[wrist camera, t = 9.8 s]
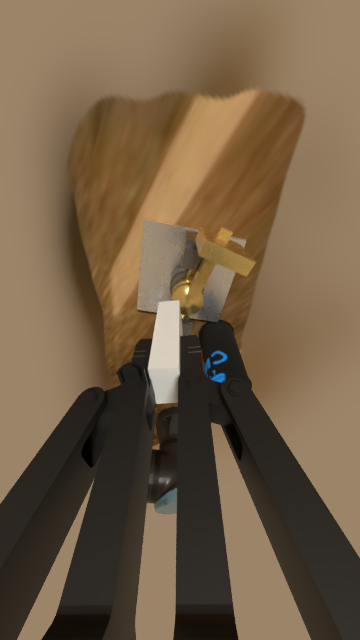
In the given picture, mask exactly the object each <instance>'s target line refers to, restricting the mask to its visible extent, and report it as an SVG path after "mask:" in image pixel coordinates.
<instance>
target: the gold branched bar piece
mask: <svg viewBox="0 0 360 640" xmlns="http://www.w3.org/2000/svg"><path fill="white" fill-rule="evenodd" d="M232 234H233V232H232V231H231V230H230V229H228V228H226V227H224V226H222V225H220V226H219V228H218V230H217V232H216V233H215V232H212V231H210V230H208V229H206V228H204V227H202V226H201V228H200V230H199V232H198V234H197V236H196V239H195V241H196V245H197V250H198V254H199V256H200V257H203V260H202V262H201V264H200V266H199V268H198V270H197V271H196V270H190V269H189V271H188V273H187V275H186V277H183V278H180V279H178V280H177V281H176V282H175V283H174V285H173V288H172V299H171V301H176V300H179V302H180V312H181V321H182V320H183V318H184V316H185V315H192V314H195V313H197V312H198V311H200V310H201V308H202V307H203V304H204V297H203V292H202V289H203V288H204V286H205V284H206V282H207V280H208V278H209V276H210V275H211V273H212V271H213V269H214V267H215V265H216V264H219V265H221V266H223V267H226V268H228V269H230V270H232V271H235V272H237V273H239V274H242V275H244V276H246V277H247V275H248V274H249V272H250V271H251V269H252V267H253V266H254V264H255V263H256V262H255V261H254V260H253V259H252V257H251V256H250V255H249V254H248V253H247V252H246V250H245V249H244V248H243V247H242V246H241V245H240V244H238V243H236V242H234V241H232V240H229V239H230V237H231V235H232Z"/></svg>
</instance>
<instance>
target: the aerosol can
mask: <svg viewBox="0 0 360 640" xmlns="http://www.w3.org/2000/svg"><path fill="white" fill-rule="evenodd" d="M199 338H200V340H201V346H202V354H203V363H204V371H205V375H206V376H207V377H208V378H210V379H211V380H214V381H217V382H221V383H223V382H224V381H225V380H227V379H229V378H237V379H241V380H243V381H245V382H246V383H247V384H248V385H249V387H250V388H252V383H251V381H250V379H249V378H248V375H247V372H246V370H245V366H244V363H243V360H242V357H241V354H240V351H239V348H238V345H237V342H236V339H235V336H234V330H233V327H232V326H231V325H230V324H229V323H228V322H226V321H223V320H218V322H212V321H210V322H208V323H206V324H205V325H203V326H202V328H201V329H200V332H199Z"/></svg>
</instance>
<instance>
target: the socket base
mask: <svg viewBox="0 0 360 640" xmlns="http://www.w3.org/2000/svg"><path fill="white" fill-rule="evenodd" d="M199 230H200V229H195V228H191V227H186V226H181V225H176V224H171V223H166V222H161V221H156V220H151V219H146V218H145V220H144V232H143V243H142V255H141V266H140V278H139V289H138V301H137V310H142V311H149V312H155V313H157V311H158V305H159V302H164V301H171V299H172V288H173V285H174V283H175V282H176V281H177V280H178V279H180V278H183V277H186V275H187V273H188V271H189V269H190V270H196V271H197V270H198V268H199V266H200V264H201V262H202V260H203V257H200V256H199V254H198V250H197V245H196V241H195V239H196V236H197V234H198V232H199ZM229 240H232V241H234V242H236V243H238V244H240V245H241V246H242V247H243V248H244V247H245V244H246V241H247V240H246V239H245V238H240V237H235V236H231V237H230V239H229ZM234 275H235V271H232V270H230V269H228V268H226V267H223V266H221V265H219V264H216V265H215V267H214V269H213V271H212V273H211V275H210V276H209V278H208V280H207V282H206V284H205V286H204V288H203V289H202V292H203V297H204V304H203V307H202V308H201V310H200V311H198V312H197V313H195V314H192V315H185V316H184V318H183V320H182V336H189V335H190V334H191V330H192V327H193V322H189V318H193V319H199V320H206V321H212V322H218V320H219V317H220V314H221V312H222V309H223V306H224V303H225V300H226V297H227V295H228V292H229V289H230V286H231V283H232V280H233V278H234Z"/></svg>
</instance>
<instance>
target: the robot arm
mask: <svg viewBox="0 0 360 640" xmlns="http://www.w3.org/2000/svg"><path fill="white" fill-rule="evenodd" d="M117 374H118V377H119V380H120V383H121V385H119V386H118V387H115V388H113V389H110V390H107V391H103V389H102V388H99V387H92V388H89V389H87V390H85V391H84V392H82V393H81V394H80V395H79V396H78V398H77V399H76V401H75V402H74V403H73V405H72V406H71V407H70V409H69V410H68V412H67V413H66V414H65V416H64V417H63V419H62V420H61V421H60V423H59V424H58V426H57V427H56V428H55V430H54V431H53V432H52V434H51V435H50V437H49V438H48V439H47V441H46V442H45V443H44V445H43V446H42V447H41V449H40V450H39V452H38V453H37V454H36V456H35V457H34V459H33V460H32V461H31V463H30V464H29V465H28V467H27V468H26V470H25V471H24V472H23V474H22V475H21V476H20V478H19V479H18V480H17V482H16V483H15V485H14V486H13V487H12V489H11V490H10V491H9V493H8V494H7V496H6V497H5V498H4V500H3V501H2V503H1V504H0V640H17V638H18V636H19V634H20V632H21V630H22V627H23V626H24V623H25V621H26V619H27V617H28V615H29V613H30V611H31V609H32V607H33V605H34V603H35V601H36V599H37V597H38V594H39V592H40V590H41V588H42V586H43V584H44V582H45V580H46V578H47V576H48V574H49V572H50V569H51V567H52V565H53V563H54V561H55V559H56V557H57V555H58V553H59V551H60V549H61V547H62V545H63V542H64V540H65V538H66V536H67V534H68V532H69V530H70V528H71V526H72V524H73V522H74V520H75V518H76V515H77V513H78V511H79V509H80V507H81V505H82V503H83V501H84V499H85V497H86V495H87V493H88V490H89V488H90V486H91V484H92V482H93V480H94V483H93V486H92V490H91V493H90V497H89V501H88V504H87V508H86V511H85V515H84V518H83V522H82V525H81V529H80V533H79V537H78V540H77V543H76V547H75V550H74V554H73V558H72V561H71V565H70V568H69V572H68V575H67V579H66V582H65V586H64V589H63V593H62V597H61V600H60V604H59V607H58V610H57V613H56V616H55V618H54V620H53V623H52V624H51V626H50V627H49V629H48V630H47V632H46V634H45V635H44V636H43V638H42V640H136V633H135V614H136V603H137V594H138V584H139V574H140V564H141V554H142V543H143V534H144V523H145V514H146V509H147V503H154V504H155V505H154V507H155V511H156V512H157V513H162V514H175V513H177V539H176V543H177V544H176V615H175V628H174V638H173V640H238V635H237V630H236V624H235V617H234V610H233V602H232V594H231V587H230V578H229V570H228V561H227V553H226V544H225V537H224V528H223V520H222V513H221V504H220V496H219V487H218V479H217V471H216V463H215V454H214V446H213V438H212V430H211V422H212V423H216V424H219V425H221V426H222V429H223V431H224V434H225V436H226V438H227V441H228V443H229V446H230V448H231V450H232V453H233V455H234V457H235V460H236V462H237V464H238V467H239V469H240V472H241V474H242V476H243V479H244V481H245V484H246V486H247V488H248V490H249V493H250V495H251V498H252V500H253V503H254V505H255V507H256V510H257V512H258V514H259V517H260V519H261V522H262V524H263V526H264V528H265V531H266V533H267V536H268V538H269V540H270V543H271V545H272V548H273V550H274V552H275V555H276V557H277V559H278V562H279V564H280V567H281V569H282V571H283V574H284V576H285V578H286V581H287V583H288V585H289V588H290V590H291V593H292V595H293V597H294V600H295V602H296V605H297V607H298V609H299V612H300V614H301V616H302V619H303V621H304V623H305V626H306V628H307V631H308V633H309V635H310V637H311V640H360V558H359V556H358V555H357V553H356V552H355V550H354V549H353V547H352V545H351V544H350V542H349V541H348V539H347V538H346V536H345V535H344V533H343V532H342V530H341V528H340V527H339V525H338V524H337V522H336V520H335V519H334V517H333V516H332V514H331V513H330V511H329V510H328V508H327V507H326V505H325V503H324V502H323V500H322V499H321V497H320V496H319V494H318V492H317V491H316V489H315V488H314V486H313V485H312V483H311V482H310V480H309V479H308V477H307V475H306V474H305V472H304V471H303V469H302V468H301V466H300V464H299V463H298V461H297V460H296V458H295V457H294V455H293V454H292V452H291V450H290V449H289V447H288V446H287V444H286V443H285V441H284V440H283V438H282V437H281V435H280V433H279V432H278V430H277V429H276V427H275V426H274V424H273V422H272V421H271V419H270V418H269V416H268V415H267V413H266V412H265V410H264V408H263V407H262V405H261V404H260V402H259V401H258V399H257V398H256V396H255V395H254V393H253V391H252V390H251V388H250V387H249V385H248V384H247V383H246V382H245V381H243V380H241V379H237V378H229V379H227V380H225V381H224V382H223V383H221V382H217V381H214V380H211V379H210V378H208V377H207V376H206V375H205V373H204V370H203V362H202V353H201V345H200V340H199V338H198V337H197V336H196V335H189V336H182V321H181V312H180V302H179V300H176V301H164V302H159V305H158V311H157V317H156V323H155V328H154V334H153V339H141V340H140V341H139V342H138V343H137V344H136V347H135V351H134V354H133V358H132V362H130V363H127V364H125V365H123V366H122V367H121V368H119V370H118V372H117ZM155 400H156V404H161V403H178V407H175V408H169V409H166V410H164V411H162V412H161V413H159V415H158V416H157V419H156V429H157V433H158V438H159V442H160V449H159V450H154V449H152V444H153V434H154V424H155V414H156V413H155V407H154V404H155ZM94 478H95V479H94Z"/></svg>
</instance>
